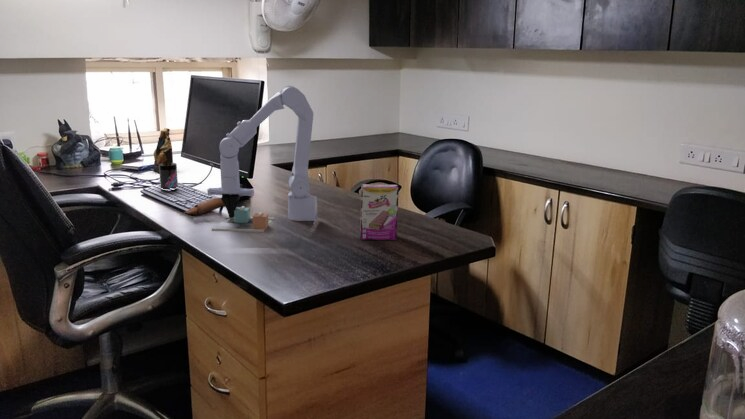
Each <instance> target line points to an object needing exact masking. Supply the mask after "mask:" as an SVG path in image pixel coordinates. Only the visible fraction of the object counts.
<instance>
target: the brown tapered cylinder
mask: <svg viewBox="0 0 745 419" xmlns="http://www.w3.org/2000/svg"><path fill="white" fill-rule="evenodd" d="M223 206H225V205H224V203H223V201H222V199H221V197H216V198H211V199H208V200H206V201H203V202H200V203H198V204H194V207H191V208H190V209H188V210H186V211H184V212H183V213H181V214H180V215H179V216H180V217H181V216H182V215H184V214H185V213H186V214H188V215H196V216H201V215H204V214H206V213H209V212H211V211H213V210H216V209H219V208H221V207H223Z"/></svg>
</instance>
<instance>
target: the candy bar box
mask: <svg viewBox="0 0 745 419" xmlns="http://www.w3.org/2000/svg"><path fill="white" fill-rule="evenodd" d="M360 187H361V189H360V218H359V219H360V222H359V223H360V224H359V226H360V227H359V228H360V229H359V238H360V240H361V241H375V240H376V241H397V236H398V235H397V233H398V212H399V211H398V210H399V209H398V207H399V185H398V184H371V183H370V184H368V183H367V184H366V183H363V184H361V186H360Z"/></svg>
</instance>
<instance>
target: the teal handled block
mask: <svg viewBox="0 0 745 419" xmlns="http://www.w3.org/2000/svg"><path fill="white" fill-rule="evenodd" d="M234 216H235V219H234V224H239V223H240V224H248V223H247V222H250V220H251V219H250V217H251V207H245V205H242V206H240V207H238V206H237V207H236V209H235V210H234Z"/></svg>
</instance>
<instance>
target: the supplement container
mask: <svg viewBox="0 0 745 419" xmlns="http://www.w3.org/2000/svg"><path fill="white" fill-rule="evenodd" d="M177 166H178V165H177V163H175V162H173V163H162V164H159V172H160V173H159V183H160V184H159V186H160V189H161V188H163V189H170V188H176V187H178V188H179V184H178V183H179V182H178V169H177V168H178V167H177Z"/></svg>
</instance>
